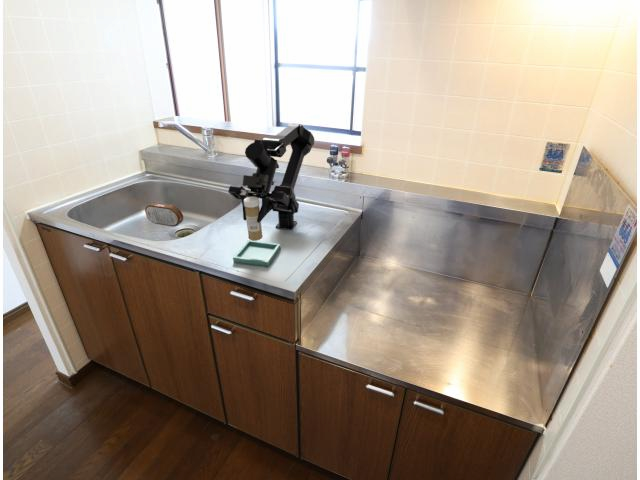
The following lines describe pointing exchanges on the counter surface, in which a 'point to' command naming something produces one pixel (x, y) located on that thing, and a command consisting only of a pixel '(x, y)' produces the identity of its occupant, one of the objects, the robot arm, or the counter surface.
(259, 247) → the teal tray
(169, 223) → the tin
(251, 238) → the sprinkles bottle
